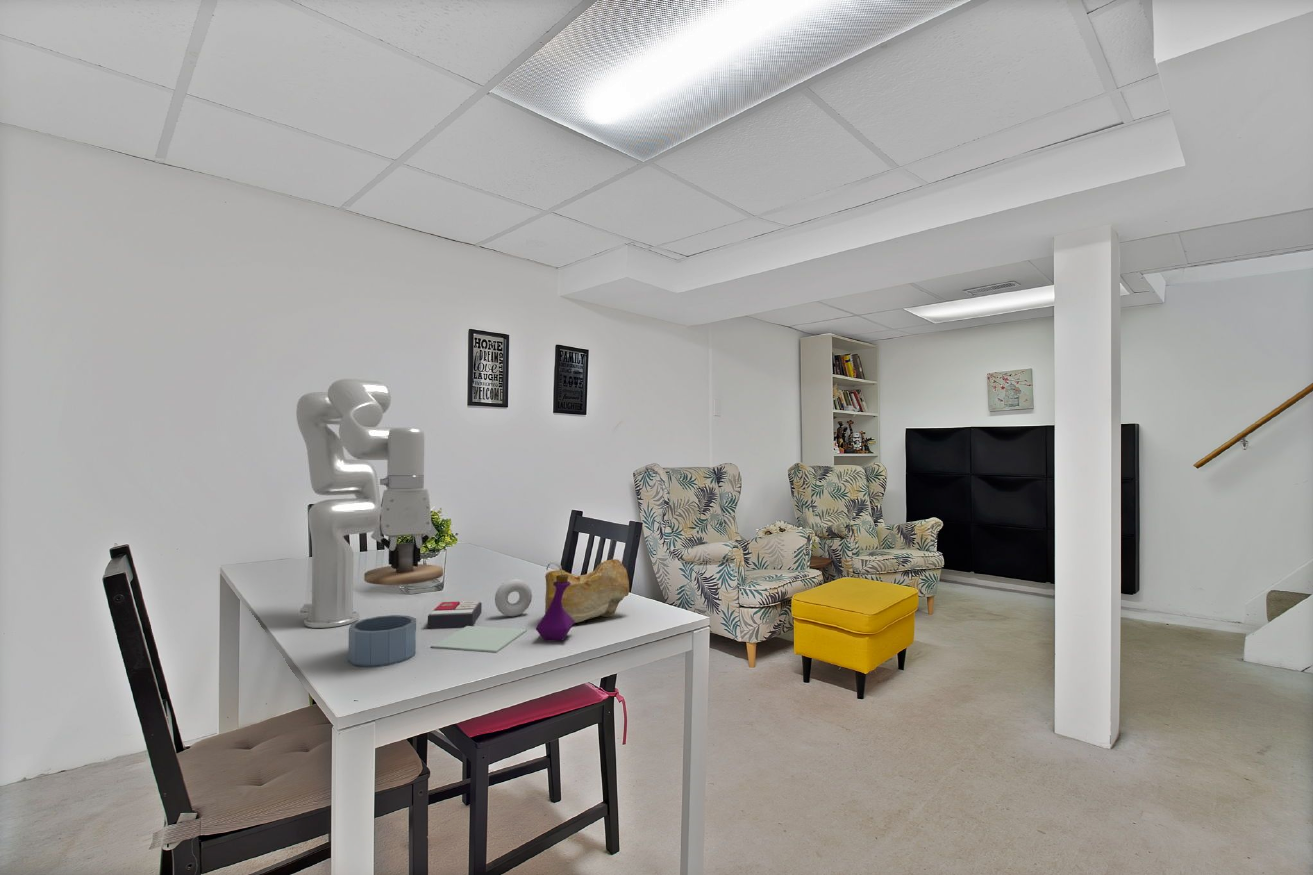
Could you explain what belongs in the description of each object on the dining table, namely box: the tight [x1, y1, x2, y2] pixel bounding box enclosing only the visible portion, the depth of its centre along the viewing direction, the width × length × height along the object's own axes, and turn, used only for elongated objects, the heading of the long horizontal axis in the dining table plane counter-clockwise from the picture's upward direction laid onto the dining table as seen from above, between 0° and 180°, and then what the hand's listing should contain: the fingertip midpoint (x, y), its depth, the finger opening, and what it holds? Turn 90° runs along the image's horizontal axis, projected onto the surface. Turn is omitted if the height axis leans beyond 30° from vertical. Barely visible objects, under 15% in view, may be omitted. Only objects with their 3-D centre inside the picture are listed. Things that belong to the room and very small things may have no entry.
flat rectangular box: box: [427, 600, 483, 630], centre depth 158 cm, size 11×4×15 cm
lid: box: [363, 542, 444, 586], centre depth 133 cm, size 16×16×7 cm
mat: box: [430, 625, 528, 653], centre depth 142 cm, size 16×16×1 cm
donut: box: [494, 578, 533, 617], centre depth 162 cm, size 10×3×10 cm, turn 119°
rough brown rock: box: [544, 558, 630, 624], centre depth 162 cm, size 23×17×15 cm
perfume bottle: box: [535, 561, 575, 642], centre depth 143 cm, size 8×8×18 cm
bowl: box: [347, 614, 417, 668], centre depth 130 cm, size 13×13×7 cm
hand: (404, 565), depth 133 cm, fingers closed on lid, 3 cm apart
